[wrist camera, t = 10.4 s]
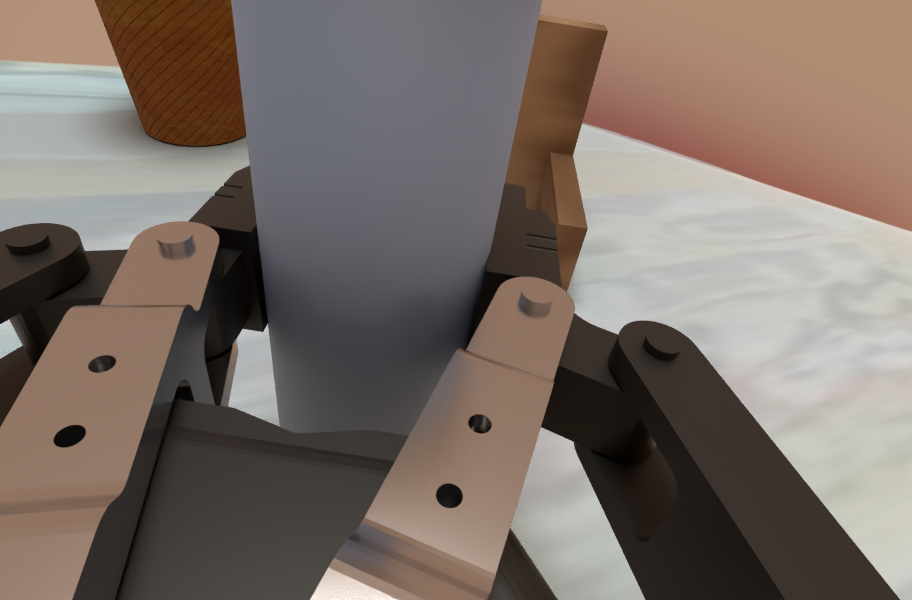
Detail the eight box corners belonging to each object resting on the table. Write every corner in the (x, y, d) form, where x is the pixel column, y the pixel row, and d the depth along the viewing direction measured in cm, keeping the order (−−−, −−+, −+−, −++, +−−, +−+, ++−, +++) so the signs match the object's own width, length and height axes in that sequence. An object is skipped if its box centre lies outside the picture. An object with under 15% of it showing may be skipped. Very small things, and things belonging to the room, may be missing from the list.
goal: (278, 258, 25) (256, 18, 18) (329, 175, 31) (325, -21, 25) (563, 302, 25) (636, 80, 19) (553, 211, 32) (604, 25, 25)
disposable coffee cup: (83, 117, 33) (6, -131, 26) (222, 89, 39) (193, -116, 32) (169, 174, 29) (109, -99, 22) (309, 134, 36) (299, -89, 28)
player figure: (247, 556, 13) (-292, -1793, 2) (307, 405, 16) (239, -701, 5) (440, 586, 13) (989, -1539, 2) (458, 429, 16) (683, -619, 6)
